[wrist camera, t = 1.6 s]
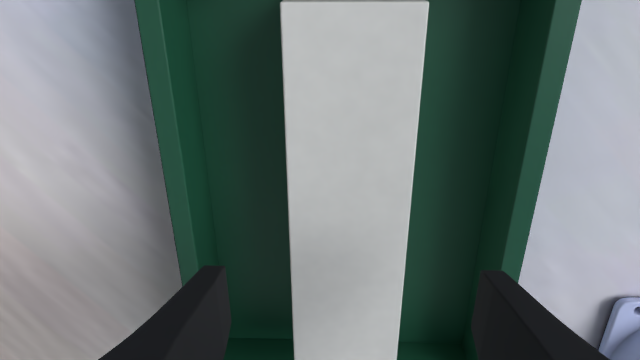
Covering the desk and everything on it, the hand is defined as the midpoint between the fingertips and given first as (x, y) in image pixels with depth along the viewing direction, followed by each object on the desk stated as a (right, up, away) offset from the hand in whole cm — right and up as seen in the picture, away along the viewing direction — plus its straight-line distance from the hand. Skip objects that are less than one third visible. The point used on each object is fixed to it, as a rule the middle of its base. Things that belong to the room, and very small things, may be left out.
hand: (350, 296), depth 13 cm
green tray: (0, +3, +7) cm, 8 cm away
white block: (0, +3, +7) cm, 7 cm away
